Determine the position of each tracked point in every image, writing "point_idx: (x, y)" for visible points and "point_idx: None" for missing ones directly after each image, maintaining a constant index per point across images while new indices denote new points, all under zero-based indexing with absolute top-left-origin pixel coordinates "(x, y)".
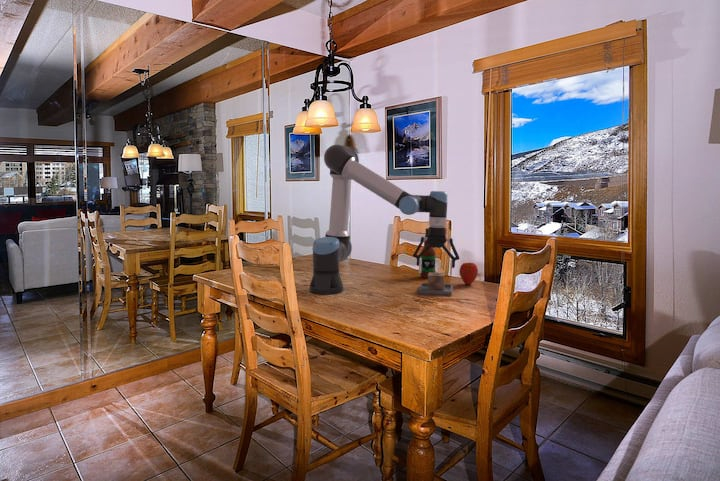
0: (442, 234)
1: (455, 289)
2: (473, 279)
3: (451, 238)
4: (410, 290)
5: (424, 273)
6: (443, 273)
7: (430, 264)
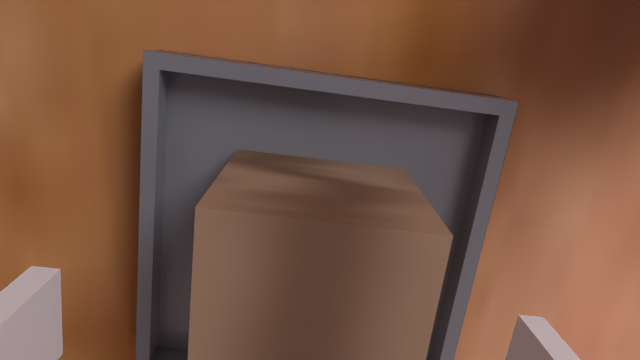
0: None
1: (520, 147)
2: None
3: None
4: (57, 231)
5: None
6: (428, 268)
7: None
